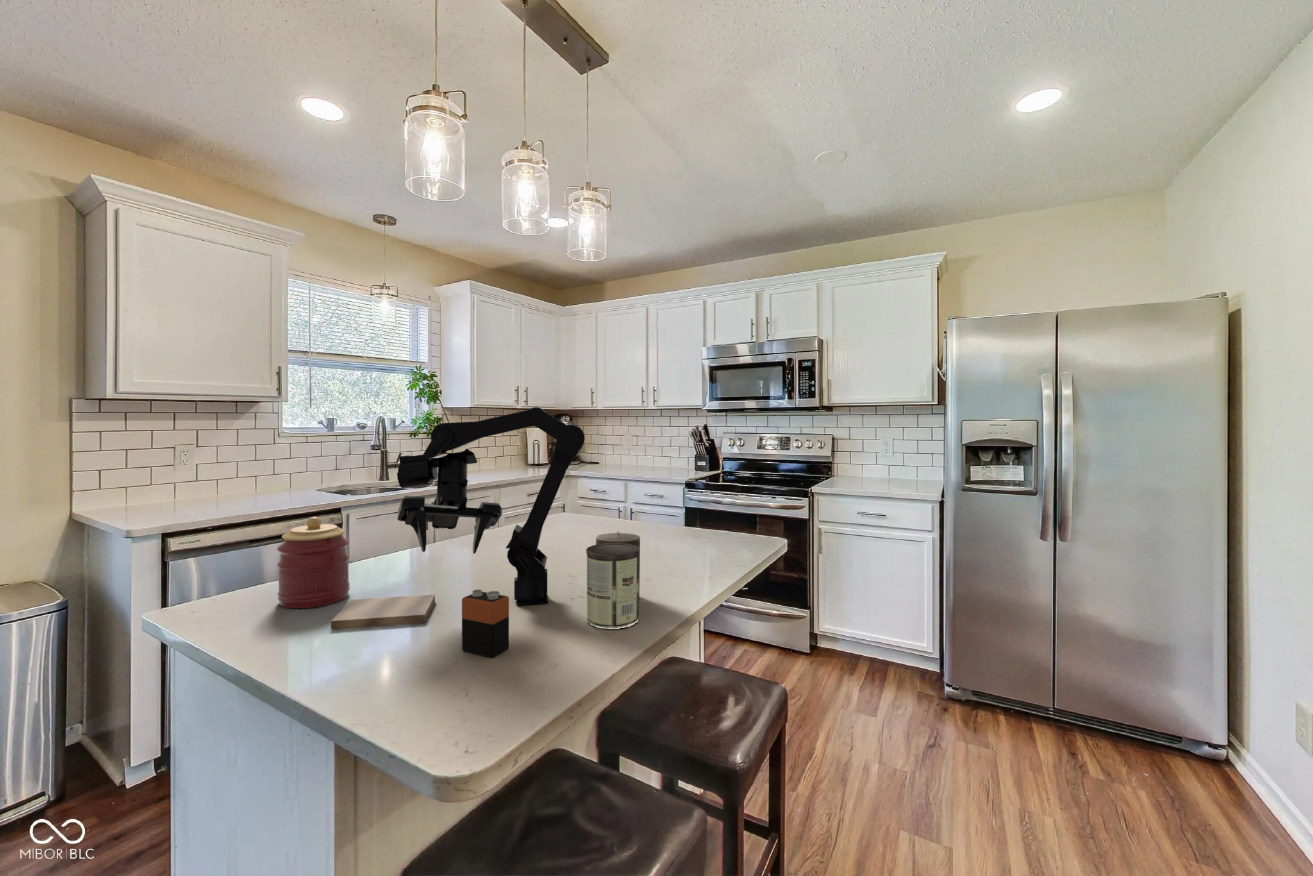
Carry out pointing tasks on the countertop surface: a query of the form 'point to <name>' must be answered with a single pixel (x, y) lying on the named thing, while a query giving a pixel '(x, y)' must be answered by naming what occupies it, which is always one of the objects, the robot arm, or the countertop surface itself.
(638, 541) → the pillar candle
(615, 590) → the coffee can
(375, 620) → the walnut cutting board
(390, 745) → the countertop surface
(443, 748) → the countertop surface
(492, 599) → the battery
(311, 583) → the canister
